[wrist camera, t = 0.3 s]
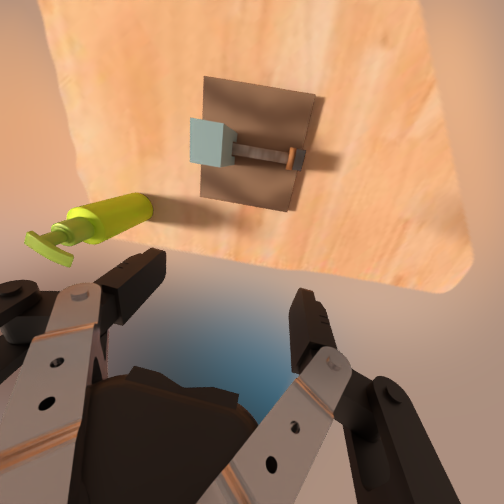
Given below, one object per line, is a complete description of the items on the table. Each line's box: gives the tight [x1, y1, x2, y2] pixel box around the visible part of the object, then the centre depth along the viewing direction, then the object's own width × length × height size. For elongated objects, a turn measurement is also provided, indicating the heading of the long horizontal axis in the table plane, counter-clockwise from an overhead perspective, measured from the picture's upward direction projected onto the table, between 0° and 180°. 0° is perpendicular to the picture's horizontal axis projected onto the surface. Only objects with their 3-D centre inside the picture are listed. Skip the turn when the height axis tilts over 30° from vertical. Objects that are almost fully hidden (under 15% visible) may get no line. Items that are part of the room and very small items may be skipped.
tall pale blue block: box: [190, 118, 237, 167], centre depth 28 cm, size 5×4×10 cm
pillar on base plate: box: [200, 76, 315, 212], centre depth 31 cm, size 18×17×6 cm
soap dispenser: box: [24, 193, 153, 267], centre depth 32 cm, size 6×7×20 cm
